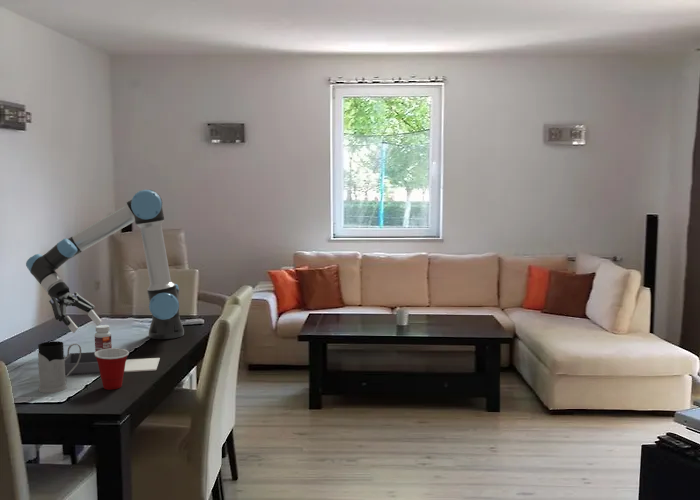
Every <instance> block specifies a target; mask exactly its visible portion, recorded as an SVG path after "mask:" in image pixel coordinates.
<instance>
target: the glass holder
mask: <svg viewBox="0 0 700 500" xmlns="http://www.w3.org/2000/svg"><path fill="white" fill-rule="evenodd" d="M73 346H77V347H78V348H79V353H80V355H79V359H78V361H77V363H76V365H75V366H74V367H73V369H72V370H71V371H70V372H69V373H68V374H67V375H65V359H66V358H68V357H69V354H70V351H71V348H72V347H73ZM64 350H65V349H64V342H62V341H56V340H54V341H47V342H45V341H44V342H41V343H39V344H38V353H37V356H38V357H37V359H38V360H37V361H38V377H39V388H38V392H40V393H44V394H45V393H46V394H51V393H58V392H61V391H65V390H66V389H67V388H68V385H67V383H66V382H67V378H68V376H70V375H69V374H70V373H71V372H72V371H73V370H74V369H75V367H76V366H77V365H78V363H79V361H80V358H81V353H82V347H81V345H80V344H77V343H71V344H70V345H69V346H68V349H67V355H66V356H65V353H64V352H65V351H64Z"/></svg>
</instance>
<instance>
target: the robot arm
mask: <svg viewBox="0 0 700 500" xmlns="http://www.w3.org/2000/svg"><path fill="white" fill-rule="evenodd" d="M164 222H165V215H164V210H163V200H162V197H161V195H160V194H159V193H158V192H157V191H155V190H152V189H141V190H139V191H137V192H136V193H134V195H133V197H132V198H131V199H130V200H129V201H126V202H125V204H124V206H123V207H121V208H120V209H117V210H116V211H114V212H112V213H111V214H109V215H107V216H106V217H103V218H102V219H100V220H98V221H96V222H95V223H93V224H91V225H89V226H88V227H87V228H84V229H83V230H81V231H79V232H77V233H75V234H73V236H71V237H69V238H67V237H66V238H63V239H61V240H60V241H58V242H57V243H56V244H55V245H54V246H53V247H52V248H50V249H49V250H48V251H47V252H46V253H44V255H43V254H41V253H37V254H34V255H32V256H30V257H29V258H28V259H27V260H26V262H25V266H26V267H27V269H28V271H29V272H30V274H31V275H32V276H33V277H34V279H36V282H38V283H39V285H40V286H41V287H42V288H43V289H44V290H45V292H46V293H47V295H48V296H49V297H50V300H49V301H48V302H49V304H50V305H51V309H52V311H53V314H54V315H53V316H54V319H55V320H57V321H59V322H63V323H64V325H65V326H67V327H68V328H69V330H70V331H71V332H72V333H73V334H75V333H76V331H77V330H79V327H78V326H77V325H76V324H75V322H74V321H73V320H72V318H71V317H70V316H69V315H67V307H75V308H78V309H79V310H82V311H84V312H85V313H87V316H88V317H89V318H90V319H91V321H93V323H94V324H95V326H100V324H101V323H102V322H103V320H101V318H100V317H99V315H98V314H97V312H96V311H95V310H94V309H95V308H96V306H95V305H94V304H93V303H92V302H90V301H88V300H87V299H86V298H85V297H83V296H81V295H80V294H79V293H78V292H77V291H75V292H74V293H73V294H72V293H71V292H70V287H69V286H68V285H67V284H66V283H65V282H64V280H63V278H62V277H61V276H60V275H59V274H58V273H57V270H58V269H59V268H60V267H61V266H62V265H64V264H65V263H66V262H68V261H69V260H71V259H72V258H74V257H75V256H77V255H78V254H81V253H82V252H84V251H85V250H87V249H89V248H91V247H93V246H95V245H96V244H99V242H101V241H103V240H105V239H106V238H109V237H111V236H113V234H115V233H118V231H120V230H122V229H123V228H125V227H128V226H130V225H131V224H133V223H135V225H136V227H138V228H139V230H140V236H141V242H142V246H143V252H144V257H145V263H146V269H147V274H148V281H149V285H148V287H147V289H146V290H147V296H148V297H147V298H148V301H149V304H148V305H149V306H148V309H149V312H150V314H151V315H152V316H151V317H152V319H151V322H150V327H149V329H148V338H150V339H153V340H169V339H170V340H171V339H176V338H177V339H178V338H181V337H183V336H184V335H185V328H184V326H183V323H182V320H181V318H180V293H179V292H180V288H179V285H178V284H177V283H175V282H173V281H172V279H171V273H170V267H169V266H170V265H169V261H168V255H167V250H166V243H165V238H164V232H163V226H162V224H163V223H164Z"/></svg>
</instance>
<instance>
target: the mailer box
mask: <svg viewBox="0 0 700 500" xmlns="http://www.w3.org/2000/svg"><path fill="white" fill-rule="evenodd" d="M94 353H95V351H92V352H81V358H80V361H79V363H78V365H77V366H76V367H75V369H74V370H73V371H72V372H71V373H70V374H69V375H68V376H79V375H97V374H99V375H100V371H99V366H98V362H97V358H96V356H95V354H94ZM79 355H80V352H74V353H73V352H71V353H70V352H69V357H68V358H65V376H66V375H67V374H68V373H69V372H70V371H71V370H72V369H73V367H74V366H75V365H76V363H77V361H78V359H79ZM160 359H161V358H160V357H151V358H150V357H149V358H131V359H126V363H125V370H124V373H134V372H151V371H157V369H158V367H159V362H160Z"/></svg>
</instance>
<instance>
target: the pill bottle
mask: <svg viewBox="0 0 700 500" xmlns="http://www.w3.org/2000/svg"><path fill="white" fill-rule="evenodd" d="M110 330H111V329H110V325H109V324H101V325H100V324H99V325H98V326H97V325H95V334H94V352H96V351H99V350H102V349H109V348H113V347H112V346H113V345H112V333H111V332H110Z"/></svg>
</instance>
